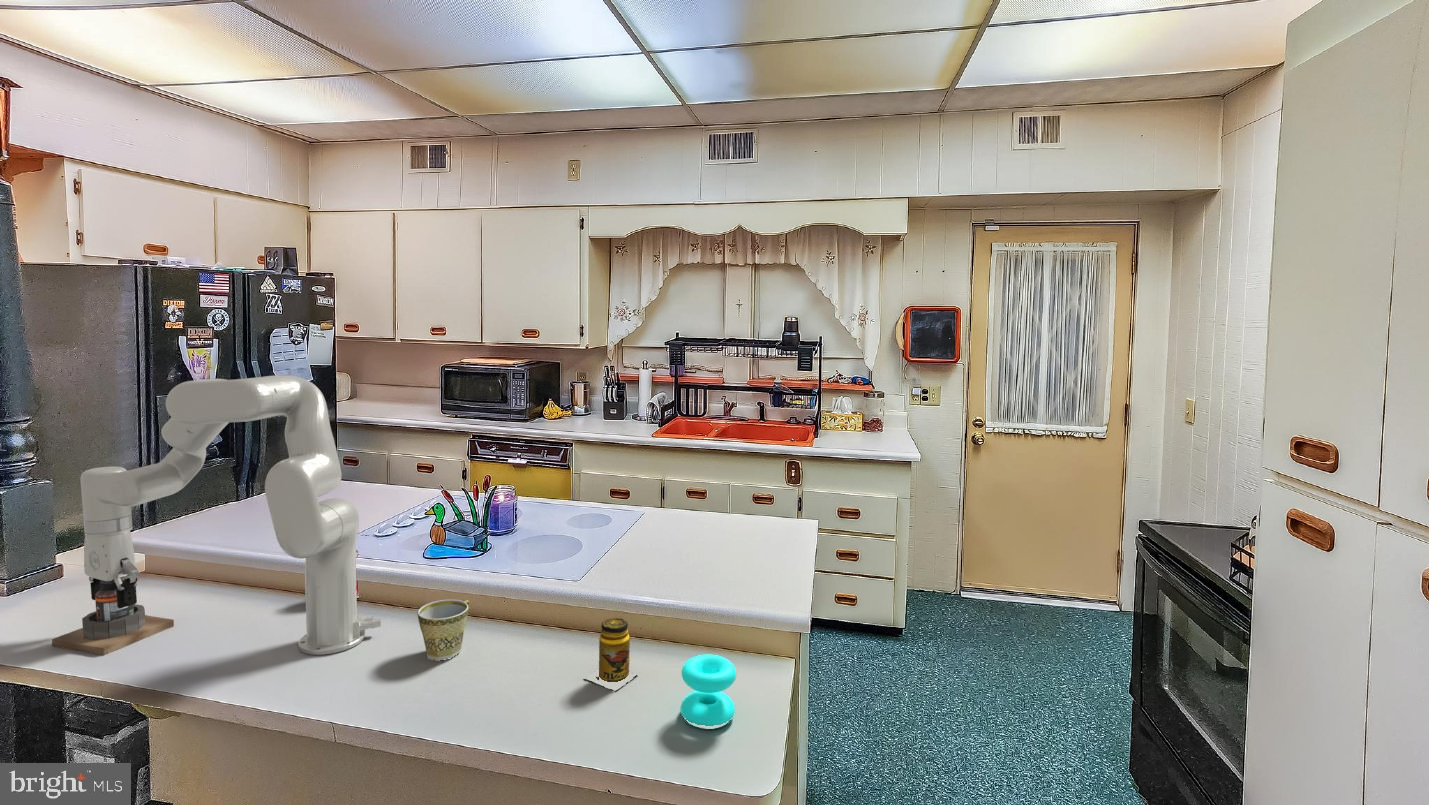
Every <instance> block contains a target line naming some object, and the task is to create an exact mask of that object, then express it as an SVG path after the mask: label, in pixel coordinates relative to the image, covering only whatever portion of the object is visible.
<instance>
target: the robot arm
mask: <svg viewBox="0 0 1429 805" xmlns="http://www.w3.org/2000/svg"><path fill="white" fill-rule="evenodd" d="M165 409H166V412H167V414H168V415H169V416H170V418H169V420H168V421H167V422H165V424H164V425H163V426H162V428H161V432H160V433H161V437H162V439H163V440H164V441H165V442H166V443H167V444H168V445H169V446H171V447H172V449H171V450H170V451H169V452H168V453H167V454H166V455H165V457H163V459H161V461H159V462H157V463H153V464H150V465H149V464H148V465H145V466H139V467H137V468H132V469H129V470H127V469H126V468H125V467H121V466H102V467H94V468H90V469H88V470H85V471H83V472H82V473H81V474H80V488H81V489H80V491H81V502H82V505H81V506H82V515H83V516H82V517H83V531H84V545H83V562H84V563H83V564H84V565H83V566H84V568H83V569H84V574H85V575H86V576H87V577H88V580H89V583H90V595H91V600H92V601H95V594H96V593H97V592H98V591H99V590H100V589H101V587H100V582H101V581H106V582H110V581H112V580H113V579H114V581H115V583H116V585H117V587H118V589H119V590H116V595H117V607H118V608H123V607H127V606H130V605H133V604H137V602H138V598H137V585H138V583H137V582H138V580H139V579H138V575H139V569H137V567H136V558H135V551H134V549H135V548H134V543H133V538H132V537H133V536H132V534H131V530H133V518H132V517H133V515H132V507H135V506H139V505H140V506H141V505H142V504H146V503H150V502H152V501H155V500H158V499H162V498H165V497H169V496H171V495H174V494H176V493H178V492H179V491H181V490H182V489H184V488H185V487H186V486H187V485H188V484H189V483H190V482H191V481H192V480H193V479H194V477H195V476H197V474H198V473H199V472H200V471H201V469H202V468H203V466H204V464H205V461H206V458H207V447H208V446H210V444H211V443H212V442H213V441H214V440H215V439H216V437H217V436H218V435H219V434H220V433H221V432H222V430H223V429H225V427H226V426H227V425H229V423H240V422H241V423H242V422H251V421H252V422H253V421H258V420H259V421H260V420H262V419H268V418H273V417H277V416H278V417H279V416H283V417H284V416H285V417H286V423H285V426H284V439H285V444H286V447H287V453H288V458H285V459H283V460H280V461H279V462H276V464H274V465H273V466H271V468H269V471H268V473H267V474H266V478H265V480H264V481H265V482H264V492H265V497H266V501H267V505H268V510H269V514H270V518H271V522H272V526H273V530H274V534H275V536H276V540H277V542H278V545H279V547H280V548H281V550H282V551H283V552H284V553H285V554H287V555H288V556H290V557H292V558H294V559H302V560H303V559H305V560H304V587H305V588H304V590H305V591H304V593H305V621H306V622H305V623H306V634H305V635H303V636H302V637H301V638H300V640H299V641H298V643H297V644H298V650H299V651H300V652H302V653H304V654H307V655H312V656H314V655H315V656H319V655H321V656H323V655H331V654H337V653H340V652H343V651H346V650H349V649H352V648H354V647H355V646H357V645H359V644H360V643H361V642H362V641H364V640H365V637H366V630H370V629H376V628H381V624H382V623H381V618H379V617H378V618H375V619H374V616H366V617H364V618H362V617H360V616H359V613H358V608H357V605H358V604H357V602H358V601H357V600H358V599H356V550H357V542H358V536H359V530H360V517H359V512H358V510H357V509H356V507H355V506H354V504H352V503H351V502H350V501H348V500H346V499H343V498H337V497H335V498H327V499H324V500H320V501H319V497H322V496H324V495H326V494H328V493H330V492H333V491H334V490H335V489H336V488H338V486H340V484H341V481H342V475H343V474H342V469H341V463H340V459H339V455H338V452H337V447H336V444H335V438H334V436H333V435H334V434H333V432H332V428H331V424H330V417H329V410H328V404H327V402H326V399H325V396H324V394H323V392H322V391H321V390H320V389H319V388H318V387H317V386H316V384H314V383H313V382H311V381H310V380H307V379H305V378H303V377H299V376H295V375H288V374H287V375H286V374H285V375H283V374H278V375H277V374H276V375H267V376H258V377H249V378H237V379H225V378H208V379H198V380H197V379H195V380H187V381H183V382H181V383H179V384H177V385H175V386H173V388H172V389H171V390H170V391H169V392H168V394H167V396H166V399H165ZM124 578H125V580H124V582H123V583H122V581H121V579H124Z"/></svg>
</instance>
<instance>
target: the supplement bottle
mask: <svg viewBox="0 0 1429 805" xmlns="http://www.w3.org/2000/svg"><path fill="white" fill-rule="evenodd" d="M125 579H126V578H124V579H121V581H122V583H123V582H124V580H125ZM100 587H101V589H100V590H99V591H98V592H97V593H96V594H95V600H94V601H95V611H96V614H97V622H102V621H111V620H116V619H120V618H124V617H126V616H129V615H132V614H134V607H133V605H130V606H127V607H123V608H118V607H117V595H116V590H119V589H118V587H117V585H116V583H115V581H114V579H113V580H112V581H110V582H106V581H101V582H100Z"/></svg>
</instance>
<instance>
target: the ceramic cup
mask: <svg viewBox="0 0 1429 805" xmlns="http://www.w3.org/2000/svg"><path fill="white" fill-rule="evenodd" d="M470 604H471V603H470V600H468V599H462V600H459V599H442V600H436V601H431V602H428V603H426V604H424V605H422V606H421V607H420V608H419V609H418V610H417V618H418V619H417V620H418V624H419V627H420V630H421V634H422V638H423V642H424V646H425V653H426V657H427V659H428V660H429V659H431V660H430V661H433V660H435V661H434V662H437V661H439V662H441V661H440V660H444V659H448V658H452V657H453V656H455V655H457V654H458V653H461V650H462V645H463V638H464V633H465V629H466V625H467V624H466V623H467V618H468V614H469V609H470V606H471V605H470ZM458 655H459V654H458ZM458 655H457V656H458ZM455 657H456V656H455ZM452 659H453V658H452ZM444 661H445V660H444Z"/></svg>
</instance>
